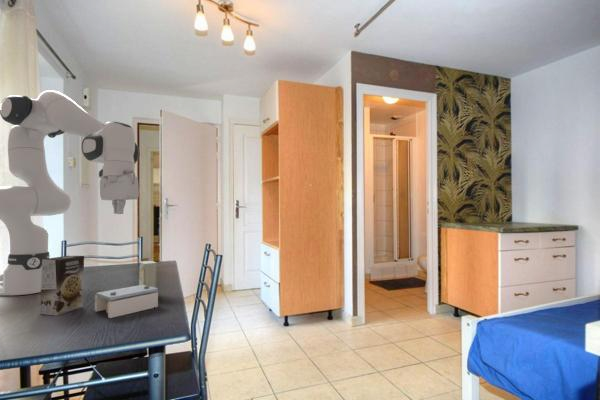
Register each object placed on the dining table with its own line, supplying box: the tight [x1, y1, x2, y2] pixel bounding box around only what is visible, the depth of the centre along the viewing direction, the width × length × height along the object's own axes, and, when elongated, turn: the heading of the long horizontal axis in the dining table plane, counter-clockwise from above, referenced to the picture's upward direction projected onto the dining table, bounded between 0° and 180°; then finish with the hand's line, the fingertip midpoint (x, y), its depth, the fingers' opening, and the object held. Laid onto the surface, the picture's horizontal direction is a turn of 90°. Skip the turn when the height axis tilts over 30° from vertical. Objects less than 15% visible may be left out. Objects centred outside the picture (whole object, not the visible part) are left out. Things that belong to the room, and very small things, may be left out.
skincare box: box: [138, 260, 158, 292], centre depth 116 cm, size 6×4×12 cm
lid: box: [95, 284, 159, 300], centre depth 102 cm, size 10×14×1 cm
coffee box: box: [39, 255, 85, 316], centre depth 100 cm, size 9×6×16 cm
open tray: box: [94, 291, 159, 319], centre depth 102 cm, size 11×14×4 cm
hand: (118, 214), depth 107 cm, fingers closed
